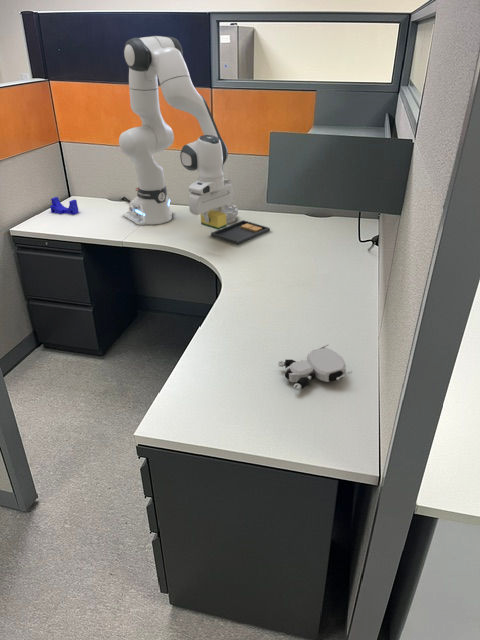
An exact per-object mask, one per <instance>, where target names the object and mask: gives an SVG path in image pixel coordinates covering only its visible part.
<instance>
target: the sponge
mask: <svg viewBox="0 0 480 640" xmlns="http://www.w3.org/2000/svg"><path fill="white" fill-rule="evenodd" d="M207 215H208V217H210V218H211V222H209V223H206V222H205V218H204V216H203V215H202V214H200V224H201V226H204V227H208V228H211V229H214V230H216V231H217V230H220V229H222V228H225V227H227V223H226V214H225V213H222V212H218V211H215V210H211V211H208V214H207Z"/></svg>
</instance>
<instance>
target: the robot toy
mask: <svg viewBox="0 0 480 640" xmlns="http://www.w3.org/2000/svg"><path fill="white" fill-rule="evenodd" d="M329 345H330V344H329V343H328V344H325V345H323V346H322V347H320V348H317V349H313V350H311V351H310V352H308V354H307V356H306V359H305V360H298V361H296V360H295V359H285V360H279V361H278V364H277V365H278V367H280V368H283V367H284V368H285V369H286V370H285V371H286V372H285V373H284V377H285V378H286V379H287V380H288V381H289V382H291V383H294V384H293V389H295V391H299V390H301V389H302V390H303V389H304V388H306V387H307V386H308V385H309V381H310V380H314V379H316V378H317V379H318V380H320V381H322V382H325V383H330V382H335V381H339V380H342V379H343V378H344V377H346V376H347V375H349V374H352V373H353V370H350V371H348V372H347V364H346V362H345V360H344V358H343V357H342V355H340V354H339V353H338V352H336V351H335V350H333V349H331V348H327V347H328V346H329Z"/></svg>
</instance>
